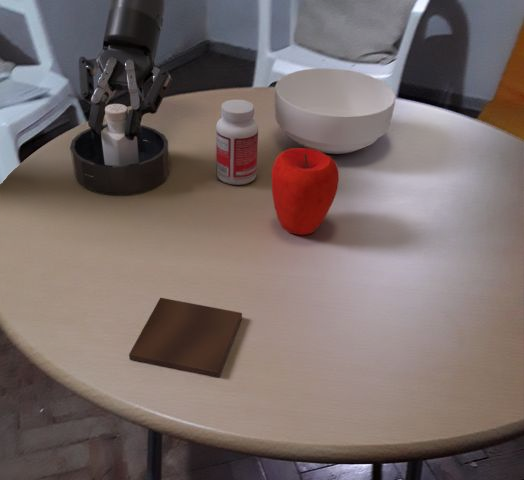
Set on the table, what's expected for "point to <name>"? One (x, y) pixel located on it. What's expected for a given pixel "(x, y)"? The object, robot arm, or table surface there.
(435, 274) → the table surface
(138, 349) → the coaster
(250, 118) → the pill bottle
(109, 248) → the table surface
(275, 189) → the apple
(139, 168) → the pan
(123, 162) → the salt shaker
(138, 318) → the table surface
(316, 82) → the bowl
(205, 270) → the table surface
